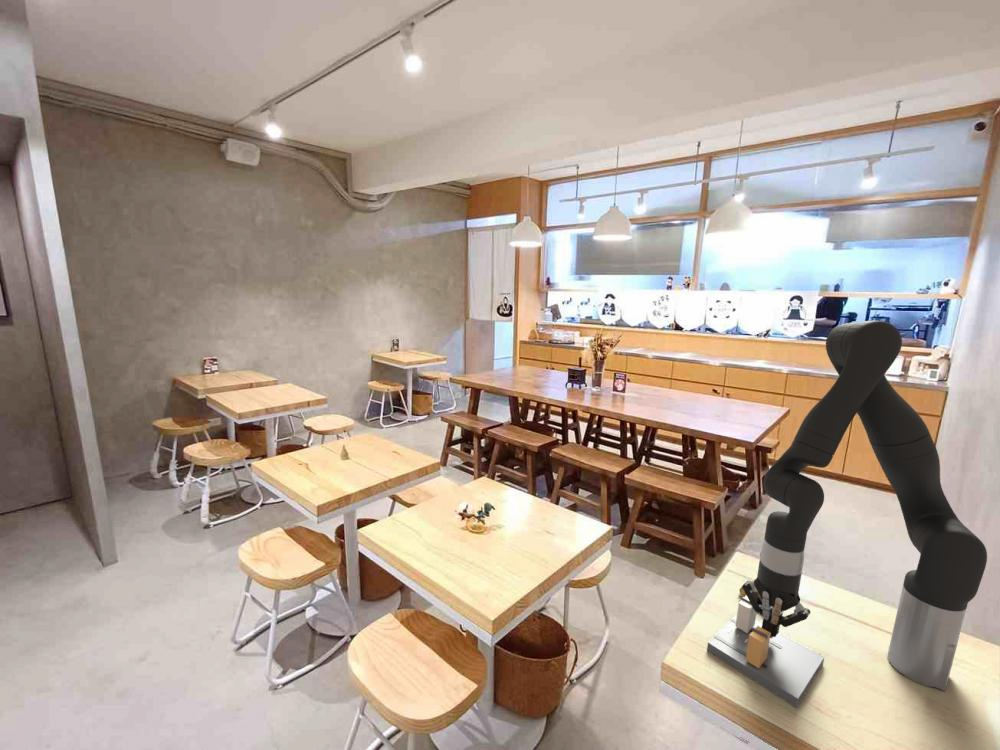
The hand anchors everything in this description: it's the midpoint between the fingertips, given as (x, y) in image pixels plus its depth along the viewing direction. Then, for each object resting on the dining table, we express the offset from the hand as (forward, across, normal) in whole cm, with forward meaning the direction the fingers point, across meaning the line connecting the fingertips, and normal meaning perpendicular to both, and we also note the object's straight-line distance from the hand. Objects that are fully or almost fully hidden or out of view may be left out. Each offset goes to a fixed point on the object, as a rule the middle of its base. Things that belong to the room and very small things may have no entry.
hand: (769, 634), depth 96 cm
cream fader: (+1, +5, 0) cm, 5 cm away
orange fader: (+1, 0, +8) cm, 8 cm away
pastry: (+4, +7, -15) cm, 17 cm away
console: (+4, 0, +3) cm, 5 cm away
